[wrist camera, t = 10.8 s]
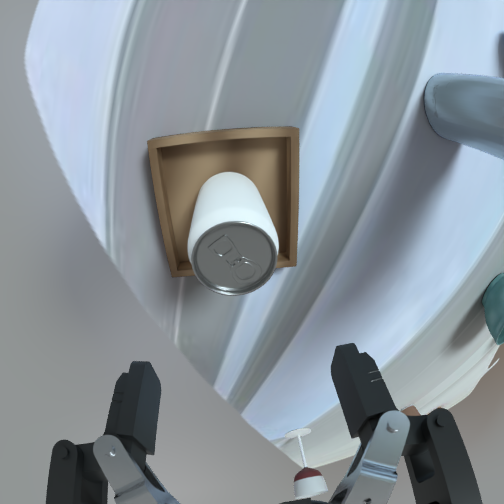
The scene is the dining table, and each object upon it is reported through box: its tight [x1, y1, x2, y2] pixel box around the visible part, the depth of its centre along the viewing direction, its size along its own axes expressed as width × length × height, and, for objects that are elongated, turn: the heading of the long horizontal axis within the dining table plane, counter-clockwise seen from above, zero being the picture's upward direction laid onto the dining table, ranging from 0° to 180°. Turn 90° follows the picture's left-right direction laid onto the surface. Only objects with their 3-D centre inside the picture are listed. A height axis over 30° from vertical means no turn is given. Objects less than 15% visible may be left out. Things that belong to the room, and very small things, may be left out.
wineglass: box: [285, 428, 328, 499], centre depth 54 cm, size 8×9×20 cm
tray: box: [147, 127, 299, 277], centre depth 28 cm, size 14×15×2 cm
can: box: [188, 172, 279, 296], centre depth 23 cm, size 6×6×12 cm
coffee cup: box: [400, 405, 420, 416], centre depth 63 cm, size 10×10×12 cm
